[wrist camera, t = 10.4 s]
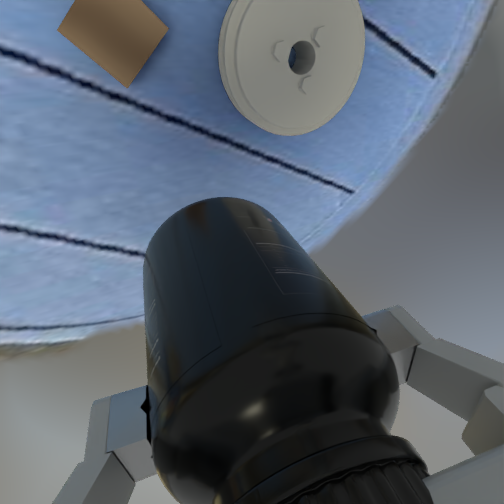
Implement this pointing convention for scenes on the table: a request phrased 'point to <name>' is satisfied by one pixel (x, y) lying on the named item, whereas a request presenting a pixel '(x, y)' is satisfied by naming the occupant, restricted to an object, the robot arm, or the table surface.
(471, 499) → the robot arm
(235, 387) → the supplement bottle
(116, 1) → the walnut block
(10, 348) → the table surface
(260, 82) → the light grey thick disc
